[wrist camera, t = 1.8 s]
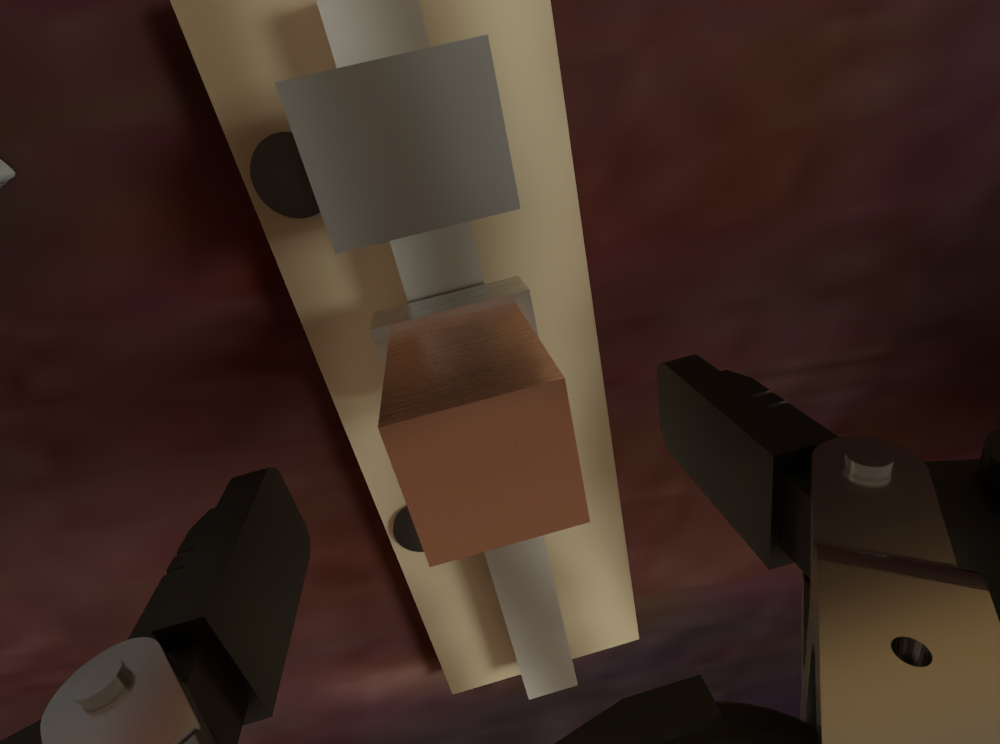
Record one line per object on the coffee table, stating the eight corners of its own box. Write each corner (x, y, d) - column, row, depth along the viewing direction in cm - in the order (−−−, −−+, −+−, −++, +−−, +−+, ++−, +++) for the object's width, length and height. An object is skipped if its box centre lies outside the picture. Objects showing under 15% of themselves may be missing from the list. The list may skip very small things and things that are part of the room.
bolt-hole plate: (526, -71, 15) (599, -211, 9) (628, 615, 28) (685, 740, 22) (187, 1, 14) (34, -96, 9) (450, 667, 27) (461, 809, 21)
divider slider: (506, 261, 17) (586, 359, 9) (529, 367, 19) (612, 525, 11) (378, 294, 17) (348, 422, 9) (412, 398, 18) (412, 582, 11)
